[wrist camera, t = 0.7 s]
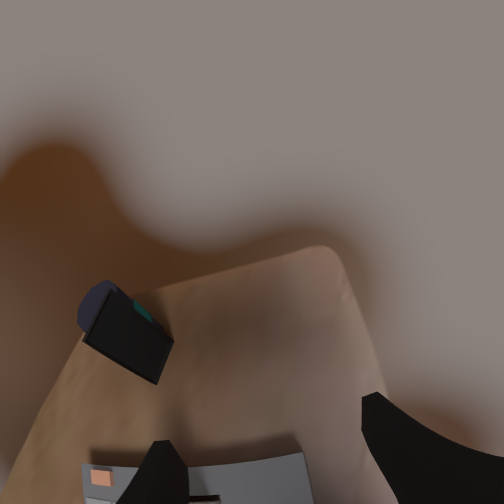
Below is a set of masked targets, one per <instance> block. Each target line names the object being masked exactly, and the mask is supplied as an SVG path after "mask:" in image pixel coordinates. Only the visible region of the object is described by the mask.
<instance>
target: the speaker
mask: <svg viewBox="0 0 504 504" xmlns="http://www.w3.org/2000/svg"><path fill="white" fill-rule="evenodd" d="M77 323H78V324H79V326H80V327H81V329H82V330H83V331H84V332H85V333H86V334H85V336H84V338H83V340H82V341H83V342H84V343H86V344H87V345H89V346H90V347H92V348H93V349H95V350H96V351H98V352H99V353H101V354H103V355H104V356H106V357H107V358H109V359H111V360H112V361H114V362H116V363H117V364H119V365H121V366H122V367H124V368H126V369H127V370H129V371H131V372H133V373H134V374H136V375H138V376H140V377H142V378H143V379H145V380H147V381H149V382H151V383H153V384H155V385H157V383H158V380H159V378H160V375H161V373H162V370H163V368H164V365H165V363H166V360H167V358H168V355H169V353H170V350H171V348H172V345H173V343H174V341H173V340H172V339H171V338H170V337H168V336H167V335H166V334H165V333H163V327H162V326H161V325H160V324H159V323H158V322H157V321H155V320H154V319H153V318H152V317H151V314H150V313H148V312H147V311H146V310H145V309H144V308H143V307H142V306H141V305H140V304H139V303H137V302H136V301H135V300H134V299H133V300H132V299H130V298H129V297H128V296H127V295H126V294H125V293H124V292H123V291H122V290H121V289H120V288H119V287H117V286H116V285H115V284H114V283H112V282H111V281H110V280H105V281H102V282H101V283H99V284H98V285H96V286H94V287H93V288H91V289H90V291H89V292H88V293H87V295H86V296H85V297H84V299H83V300H82V301H81V304H80V306H79V309H78V318H77Z"/></svg>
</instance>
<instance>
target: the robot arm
mask: <svg viewBox="0 0 504 504" xmlns="http://www.w3.org/2000/svg"><path fill="white" fill-rule="evenodd" d="M361 430H362V433H363V435H364V438H365V440H366V443H367V445H368V448H369V450H370V452H371V454H372V456H373V457H374V459H375V461H376V463H377V464H378V466H379V468H380V470H381V471H382V473H383V475H384V477H385V478H386V480H387V482H388V483H389V485H390V487H391V489H392V490H393V492H394V494H395V496H396V498H397V500H398V503H399V504H504V457H499V456H494V455H491V454H487V453H484V452H480V451H477V450H473V449H471V448H468V447H465V446H463V445H460V444H458V443H456V442H453V441H451V440H449V439H447V438H445V437H443V436H441V435H439V434H437V433H436V432H434V431H432V430H430V429H429V428H427V427H425V426H424V425H422V424H420V423H419V422H418V421H416V420H415V419H413V418H412V417H410V416H409V415H407V414H406V413H404V412H403V411H402V410H400V409H399V408H398V407H396V406H395V405H394V404H393V403H391V402H390V401H389V400H387V399H386V398H385V397H384V396H383V395H381V394H380V393H379V392H375V393H372V394H369V395H367V396H364V397H362V427H361ZM189 493H190V489H189V474H188V468H187V466H186V465H185V463H184V462H183V461H182V459H181V458H180V456H179V455H178V453H177V452H176V450H175V449H174V447H173V445H172V444H171V442H170V441H169V440H164V441H154V442H153V444H152V446H151V447H150V449H149V451H148V453H147V454H146V456H145V458H144V460H143V461H142V463H141V465H140V467H139V468H138V470H137V472H136V473H135V475H134V477H133V478H132V480H131V482H130V483H129V485H128V486H127V488H126V489H125V491H124V492H123V494H122V495H121V496H120V498H119V499H118V501H117V502H116V503H115V504H189Z"/></svg>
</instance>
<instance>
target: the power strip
mask: <svg viewBox="0 0 504 504" xmlns="http://www.w3.org/2000/svg"><path fill="white" fill-rule="evenodd" d="M81 465H82V481H83V492H84V502H85V504H115V503H116V502H117V501H118V499H119V498H120V496H121V495H122V494H123V492H124V491H125V489H126V488H127V486H128V485H129V483H130V482H131V480H132V478H133V477H134V475H135V473H136V472H137V470H138V468H132V467H114V466H102V465H92V464H83V463H81ZM187 468H188V474H189V489H190V493H189V496H201V495H220V498H221V504H315V501H314V496H313V492H312V487H311V482H310V477H309V473H308V468H307V463H306V458H305V454H304V452H300V453H295V454H291V455H286V456H280V457H275V458H269V459H263V460H257V461H250V462H243V463H235V464H226V465H215V466H202V467H187Z"/></svg>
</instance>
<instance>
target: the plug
mask: <svg viewBox="0 0 504 504" xmlns="http://www.w3.org/2000/svg"><path fill="white" fill-rule="evenodd" d="M189 504H221V501H189Z"/></svg>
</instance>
